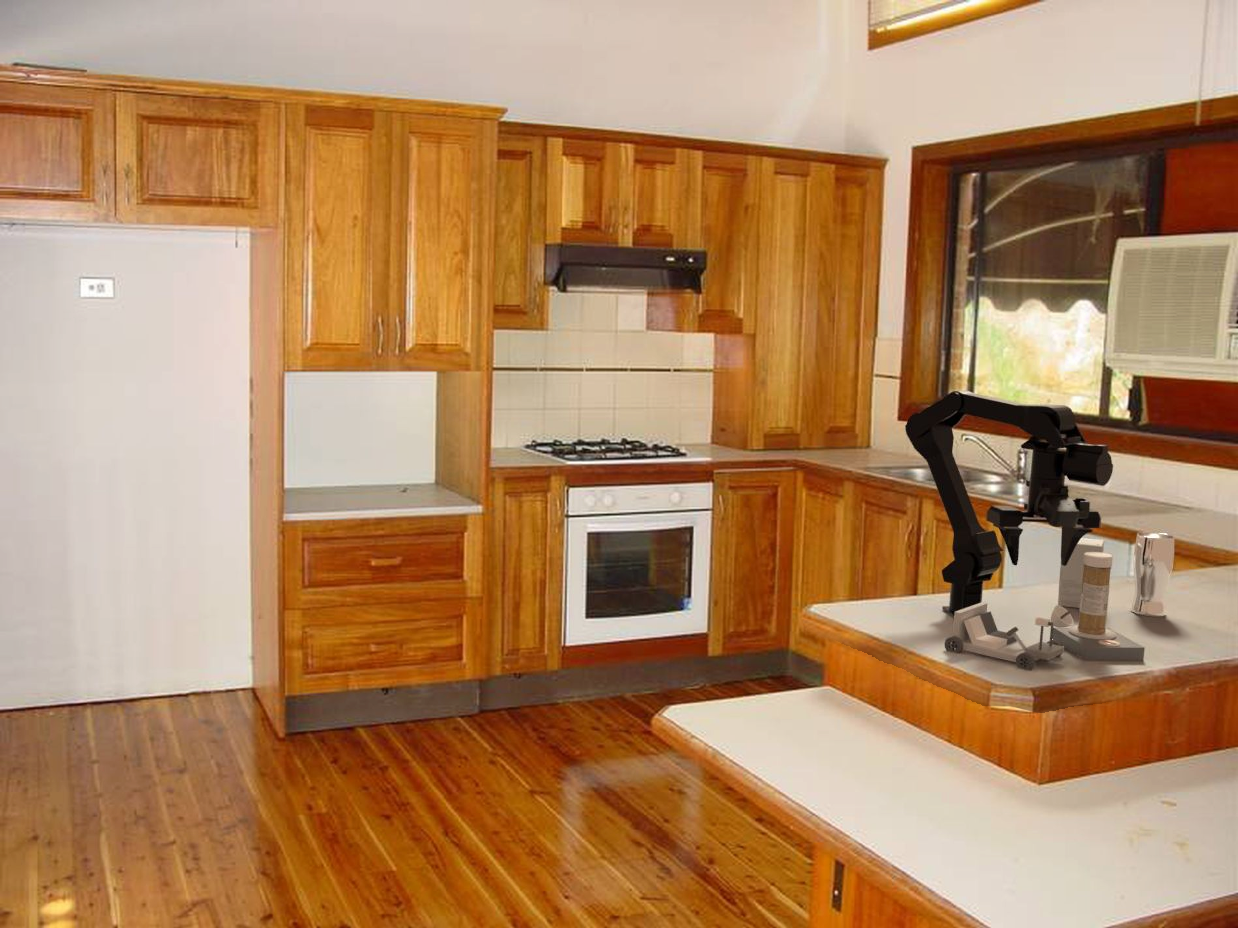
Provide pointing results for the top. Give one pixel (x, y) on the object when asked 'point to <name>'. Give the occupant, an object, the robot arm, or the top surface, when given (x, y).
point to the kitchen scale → (1099, 645)
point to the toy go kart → (1004, 637)
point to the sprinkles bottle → (1095, 592)
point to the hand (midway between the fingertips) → (1039, 565)
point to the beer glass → (1152, 572)
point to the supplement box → (1075, 572)
